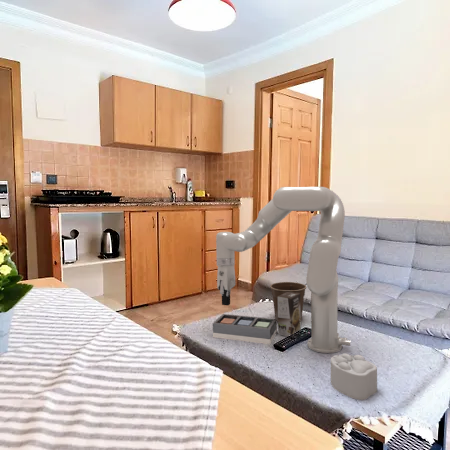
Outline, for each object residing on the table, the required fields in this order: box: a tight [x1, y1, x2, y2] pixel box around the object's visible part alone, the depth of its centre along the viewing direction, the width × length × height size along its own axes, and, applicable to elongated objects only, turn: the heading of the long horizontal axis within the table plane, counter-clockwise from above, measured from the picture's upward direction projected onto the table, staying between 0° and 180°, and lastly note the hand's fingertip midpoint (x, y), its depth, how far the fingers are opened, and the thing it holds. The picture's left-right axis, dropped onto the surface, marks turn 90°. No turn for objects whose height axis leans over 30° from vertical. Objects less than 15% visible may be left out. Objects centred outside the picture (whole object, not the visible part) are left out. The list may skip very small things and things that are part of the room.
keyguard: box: [212, 313, 278, 339], centre depth 146 cm, size 24×12×4 cm, turn 69°
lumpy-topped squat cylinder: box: [330, 353, 378, 401], centre depth 104 cm, size 10×13×9 cm
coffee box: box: [277, 292, 302, 337], centre depth 147 cm, size 9×6×16 cm
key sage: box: [255, 322, 270, 328], centre depth 143 cm, size 5×5×2 cm
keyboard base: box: [212, 328, 278, 345], centre depth 146 cm, size 24×12×2 cm, turn 69°
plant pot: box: [269, 281, 307, 323], centre depth 161 cm, size 16×16×16 cm
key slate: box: [237, 320, 252, 326], centre depth 145 cm, size 5×5×2 cm
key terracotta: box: [220, 318, 235, 324], centre depth 148 cm, size 5×5×2 cm
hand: (226, 304), depth 148 cm, fingers closed
